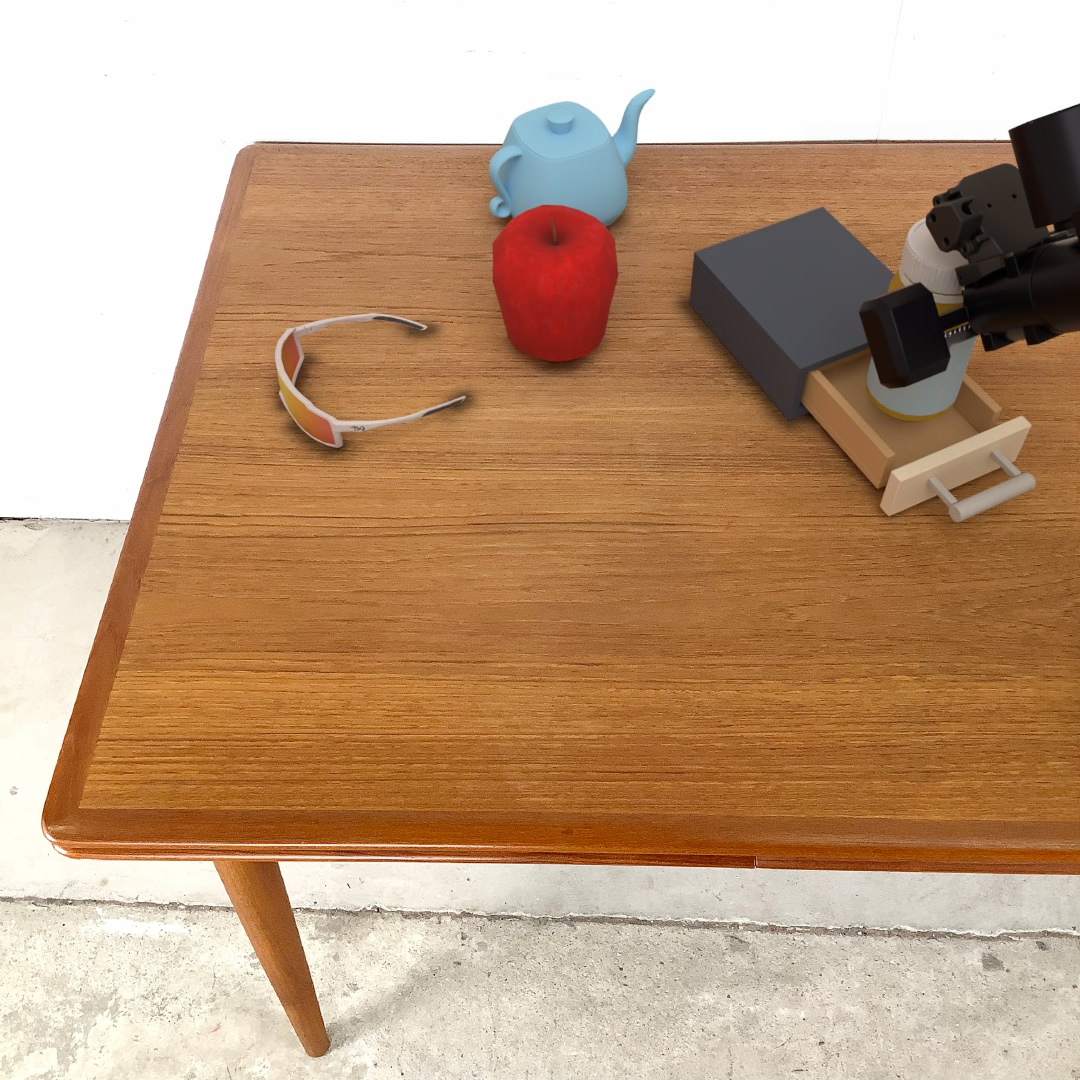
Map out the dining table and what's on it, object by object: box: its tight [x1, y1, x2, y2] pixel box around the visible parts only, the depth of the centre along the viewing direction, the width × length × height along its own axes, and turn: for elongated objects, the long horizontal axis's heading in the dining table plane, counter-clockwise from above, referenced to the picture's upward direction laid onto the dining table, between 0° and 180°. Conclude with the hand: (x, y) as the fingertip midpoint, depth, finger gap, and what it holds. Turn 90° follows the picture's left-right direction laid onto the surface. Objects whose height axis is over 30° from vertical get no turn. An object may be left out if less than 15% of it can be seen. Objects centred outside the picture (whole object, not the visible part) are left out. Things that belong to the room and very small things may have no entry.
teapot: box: [488, 88, 656, 228], centre depth 109 cm, size 13×11×18 cm
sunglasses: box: [274, 312, 467, 449], centre depth 98 cm, size 14×15×5 cm
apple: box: [491, 205, 619, 363], centre depth 96 cm, size 11×10×14 cm
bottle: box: [866, 217, 978, 422], centre depth 84 cm, size 7×7×15 cm
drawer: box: [800, 348, 1037, 523], centre depth 90 cm, size 20×12×4 cm, turn 26°
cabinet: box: [688, 206, 896, 422], centre depth 99 cm, size 17×14×6 cm
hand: (917, 317), depth 85 cm, fingers closed on bottle, 7 cm apart
